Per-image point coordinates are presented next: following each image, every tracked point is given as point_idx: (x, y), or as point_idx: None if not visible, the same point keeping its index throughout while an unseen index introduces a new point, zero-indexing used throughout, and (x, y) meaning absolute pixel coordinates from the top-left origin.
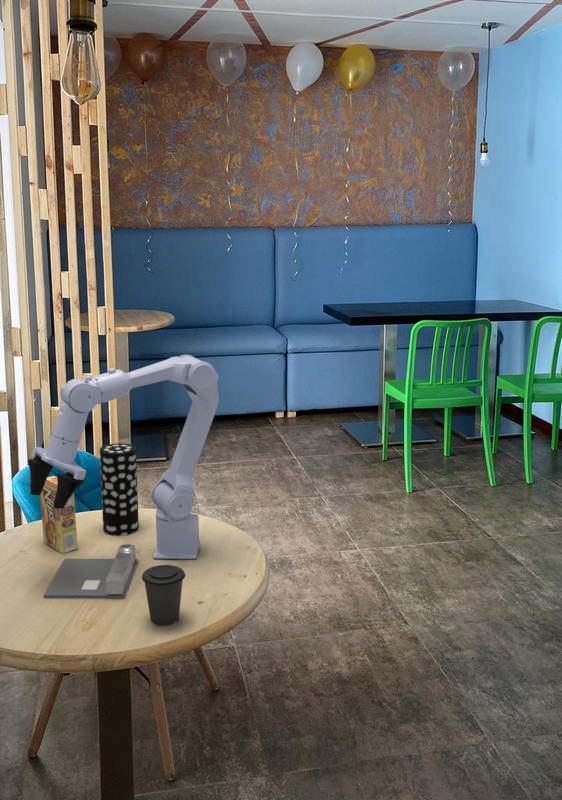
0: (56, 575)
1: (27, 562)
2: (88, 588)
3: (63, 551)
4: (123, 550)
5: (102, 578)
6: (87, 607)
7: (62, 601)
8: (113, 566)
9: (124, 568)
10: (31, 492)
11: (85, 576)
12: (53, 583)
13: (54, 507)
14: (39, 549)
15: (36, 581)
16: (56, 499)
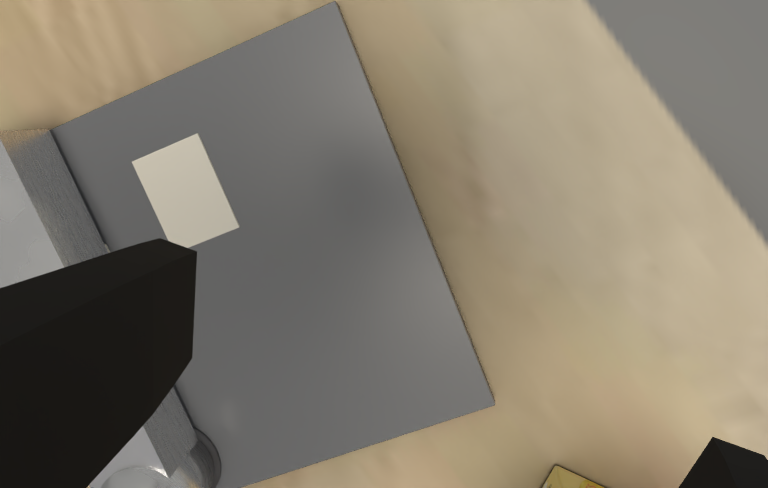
0: (414, 223)
1: (676, 320)
2: (171, 155)
3: (552, 474)
4: (135, 477)
5: None
6: (82, 10)
7: (229, 12)
8: None
9: None
10: (743, 465)
11: (269, 267)
12: (370, 137)
13: (174, 244)
14: None
15: (491, 149)
16: (60, 279)
